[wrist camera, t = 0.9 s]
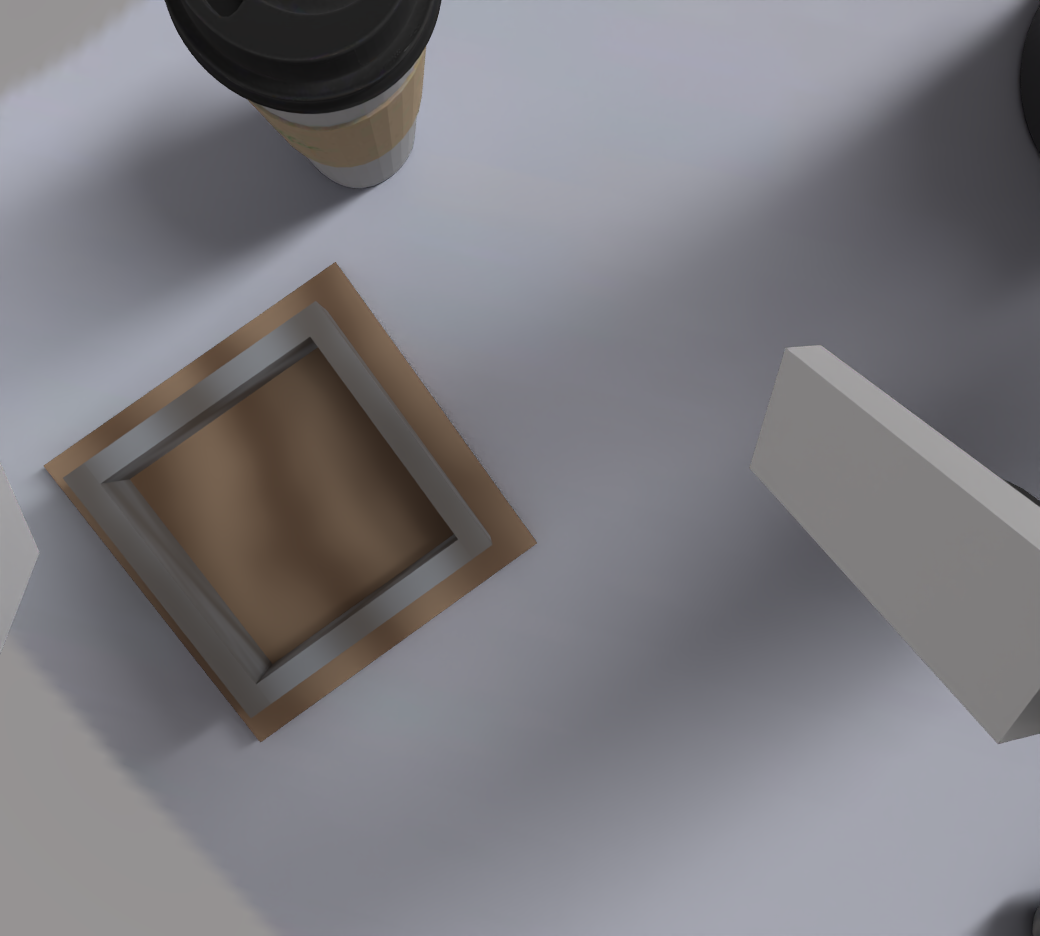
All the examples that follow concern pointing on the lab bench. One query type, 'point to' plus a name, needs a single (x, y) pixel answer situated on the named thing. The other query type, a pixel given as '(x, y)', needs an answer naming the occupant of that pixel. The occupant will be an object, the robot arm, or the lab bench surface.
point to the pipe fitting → (1036, 923)
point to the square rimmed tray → (293, 502)
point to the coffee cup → (321, 73)
